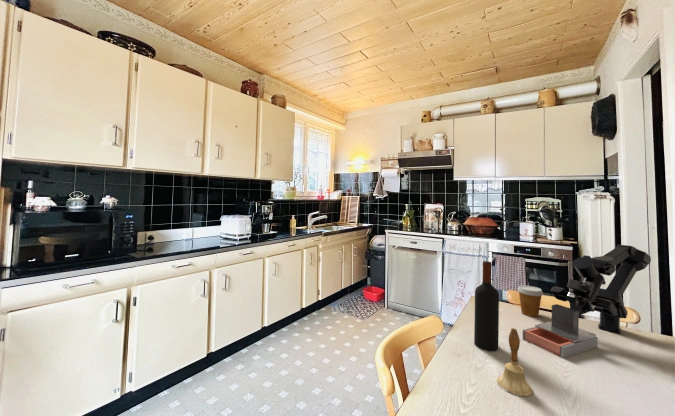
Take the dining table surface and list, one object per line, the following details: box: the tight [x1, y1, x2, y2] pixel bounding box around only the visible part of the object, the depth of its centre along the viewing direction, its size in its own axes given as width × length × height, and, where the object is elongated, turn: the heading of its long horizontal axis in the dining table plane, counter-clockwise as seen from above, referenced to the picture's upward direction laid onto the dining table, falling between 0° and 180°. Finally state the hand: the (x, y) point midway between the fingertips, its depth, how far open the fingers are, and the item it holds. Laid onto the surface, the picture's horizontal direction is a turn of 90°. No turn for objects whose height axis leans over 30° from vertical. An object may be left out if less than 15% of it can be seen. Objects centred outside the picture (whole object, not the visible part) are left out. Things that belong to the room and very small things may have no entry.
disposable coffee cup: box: [517, 284, 544, 318], centre depth 124 cm, size 10×10×12 cm
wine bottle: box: [473, 260, 500, 352], centre depth 96 cm, size 8×8×30 cm
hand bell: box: [496, 328, 534, 397], centre depth 75 cm, size 8×8×16 cm
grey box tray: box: [522, 326, 599, 359], centre depth 98 cm, size 19×13×4 cm
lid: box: [534, 303, 597, 342], centre depth 99 cm, size 13×13×9 cm
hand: (571, 317), depth 101 cm, fingers closed
